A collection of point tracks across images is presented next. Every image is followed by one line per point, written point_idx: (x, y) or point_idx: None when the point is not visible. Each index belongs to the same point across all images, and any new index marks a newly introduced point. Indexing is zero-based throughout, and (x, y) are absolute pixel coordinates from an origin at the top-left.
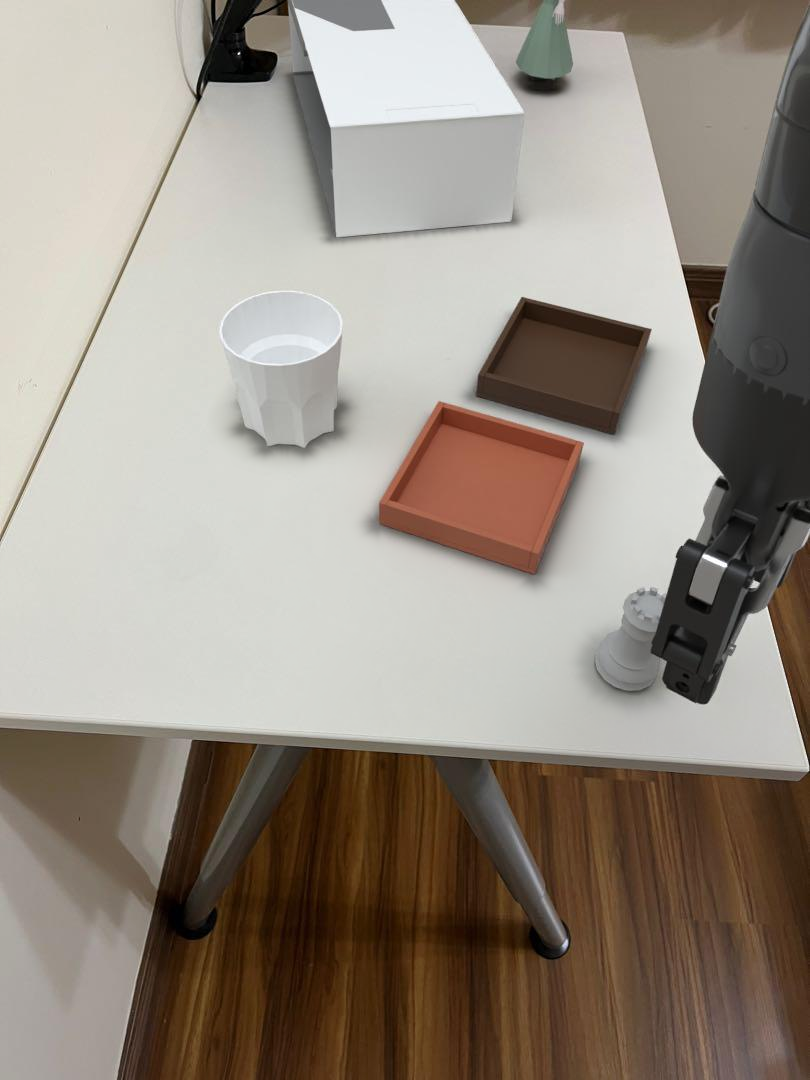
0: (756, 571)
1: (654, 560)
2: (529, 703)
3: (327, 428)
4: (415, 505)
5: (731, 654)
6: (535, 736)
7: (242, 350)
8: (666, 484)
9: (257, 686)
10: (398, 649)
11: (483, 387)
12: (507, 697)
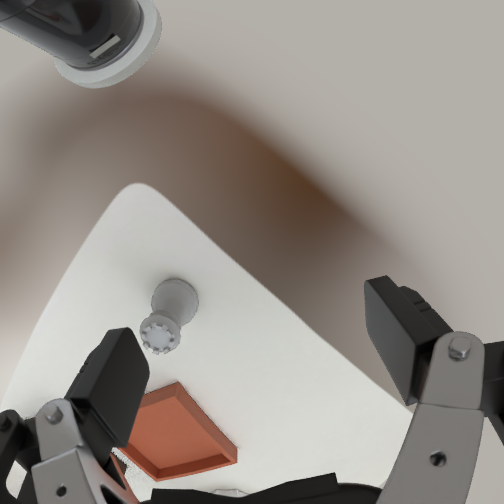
0: (138, 362)
1: (99, 339)
2: (253, 320)
3: (219, 492)
4: (211, 448)
5: (467, 339)
6: (268, 301)
7: None
8: (58, 366)
9: (364, 405)
10: (291, 390)
11: (122, 469)
12: (262, 331)
